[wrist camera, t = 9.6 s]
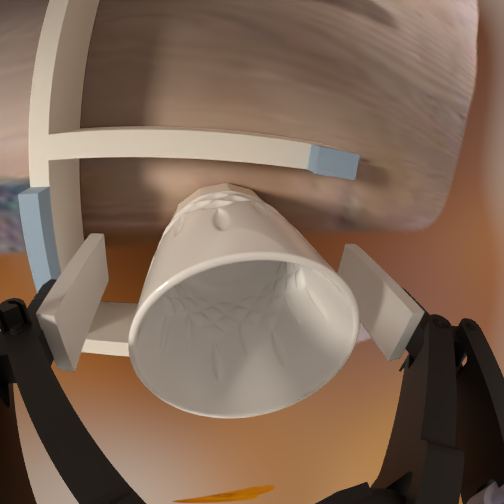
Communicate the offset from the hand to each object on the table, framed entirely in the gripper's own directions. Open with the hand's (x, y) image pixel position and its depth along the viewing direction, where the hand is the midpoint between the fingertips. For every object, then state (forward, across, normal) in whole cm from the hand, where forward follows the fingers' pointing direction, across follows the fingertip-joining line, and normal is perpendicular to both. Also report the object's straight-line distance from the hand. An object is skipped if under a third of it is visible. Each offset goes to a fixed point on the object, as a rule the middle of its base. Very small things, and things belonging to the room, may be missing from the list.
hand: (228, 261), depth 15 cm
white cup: (+3, 0, 0) cm, 3 cm away
